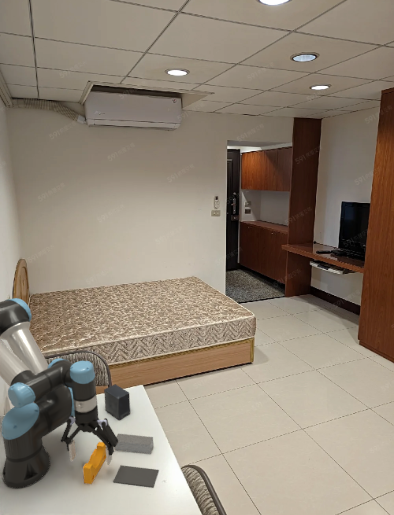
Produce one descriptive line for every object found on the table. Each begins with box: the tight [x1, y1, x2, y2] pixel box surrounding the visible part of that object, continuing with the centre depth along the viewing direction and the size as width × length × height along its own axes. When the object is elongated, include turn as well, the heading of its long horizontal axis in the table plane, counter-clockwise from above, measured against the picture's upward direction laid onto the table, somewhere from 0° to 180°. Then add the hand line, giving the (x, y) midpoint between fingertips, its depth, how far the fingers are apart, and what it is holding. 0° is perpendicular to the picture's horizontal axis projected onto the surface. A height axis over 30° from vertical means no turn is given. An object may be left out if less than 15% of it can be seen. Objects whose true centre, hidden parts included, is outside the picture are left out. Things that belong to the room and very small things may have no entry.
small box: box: [103, 384, 131, 421], centre depth 153 cm, size 11×6×10 cm, turn 49°
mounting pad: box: [112, 464, 160, 489], centre depth 121 cm, size 14×7×1 cm, turn 81°
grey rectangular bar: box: [114, 433, 154, 455], centre depth 133 cm, size 14×4×4 cm, turn 81°
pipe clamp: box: [82, 441, 107, 485], centre depth 123 cm, size 12×4×6 cm, turn 170°
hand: (91, 460), depth 123 cm, fingers open, 13 cm apart
